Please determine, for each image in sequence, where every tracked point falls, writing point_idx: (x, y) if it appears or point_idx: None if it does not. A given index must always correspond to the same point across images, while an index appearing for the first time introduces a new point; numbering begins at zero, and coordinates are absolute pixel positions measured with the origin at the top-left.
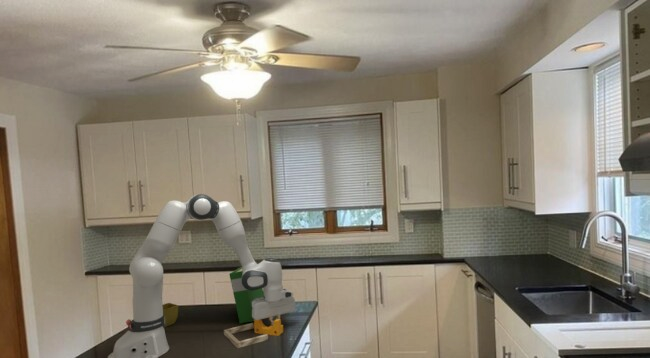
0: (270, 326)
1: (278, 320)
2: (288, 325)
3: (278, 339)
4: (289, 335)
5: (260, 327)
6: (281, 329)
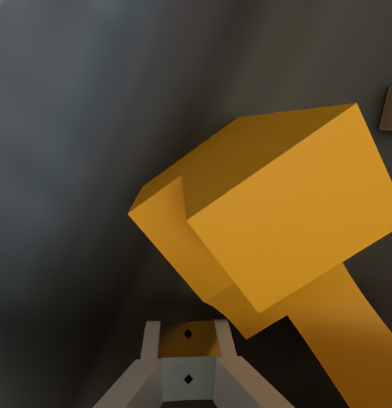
0: (258, 314)
1: (300, 160)
2: (22, 310)
3: (299, 2)
4: (124, 22)
5: (386, 332)
6: (175, 170)
